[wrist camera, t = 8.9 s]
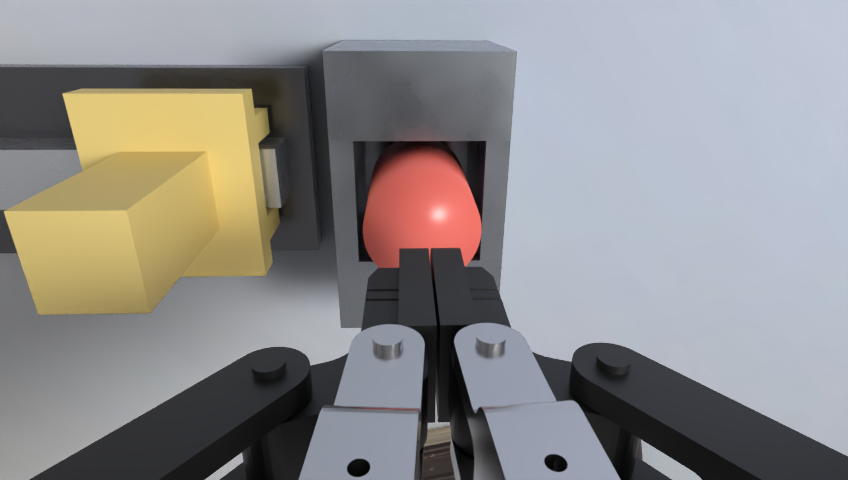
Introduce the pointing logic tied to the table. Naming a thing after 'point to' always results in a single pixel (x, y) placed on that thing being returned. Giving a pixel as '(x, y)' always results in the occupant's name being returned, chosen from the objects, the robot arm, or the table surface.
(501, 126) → the grey button housing
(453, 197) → the button
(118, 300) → the yellow flanged block
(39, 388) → the table surface
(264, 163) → the rail
